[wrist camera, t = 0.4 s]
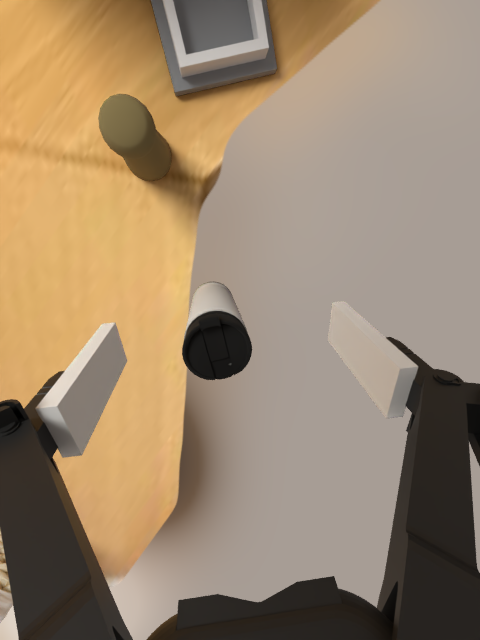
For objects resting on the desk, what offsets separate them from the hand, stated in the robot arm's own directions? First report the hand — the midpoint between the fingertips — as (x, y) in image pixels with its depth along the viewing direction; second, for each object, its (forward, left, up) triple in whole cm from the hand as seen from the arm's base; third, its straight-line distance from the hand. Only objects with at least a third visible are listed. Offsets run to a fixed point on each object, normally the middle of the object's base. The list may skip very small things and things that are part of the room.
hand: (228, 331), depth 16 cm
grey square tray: (-29, +7, -26) cm, 40 cm away
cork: (-17, -5, -26) cm, 31 cm away
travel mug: (+4, -2, -26) cm, 26 cm away
